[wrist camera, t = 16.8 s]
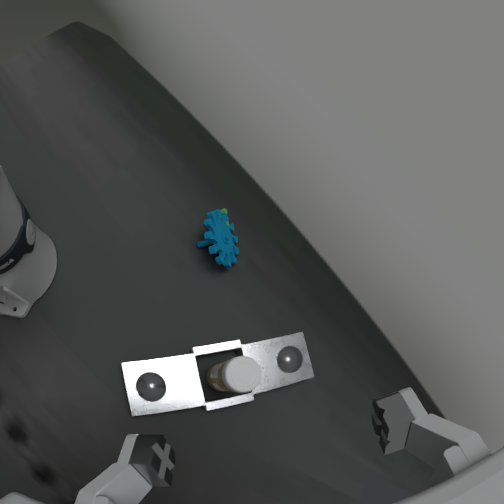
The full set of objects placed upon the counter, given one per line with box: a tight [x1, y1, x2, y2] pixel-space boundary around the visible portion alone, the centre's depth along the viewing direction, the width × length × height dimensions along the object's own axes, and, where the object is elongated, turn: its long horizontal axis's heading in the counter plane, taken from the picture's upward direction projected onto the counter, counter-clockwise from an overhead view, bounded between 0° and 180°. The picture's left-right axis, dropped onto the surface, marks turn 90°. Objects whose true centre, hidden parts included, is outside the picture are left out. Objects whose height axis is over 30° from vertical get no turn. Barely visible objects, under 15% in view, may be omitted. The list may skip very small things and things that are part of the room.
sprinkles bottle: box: [207, 356, 261, 393], centre depth 39 cm, size 5×5×13 cm
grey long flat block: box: [122, 332, 314, 416], centre depth 44 cm, size 29×10×4 cm, turn 104°
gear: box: [197, 209, 239, 267], centre depth 52 cm, size 11×6×10 cm
